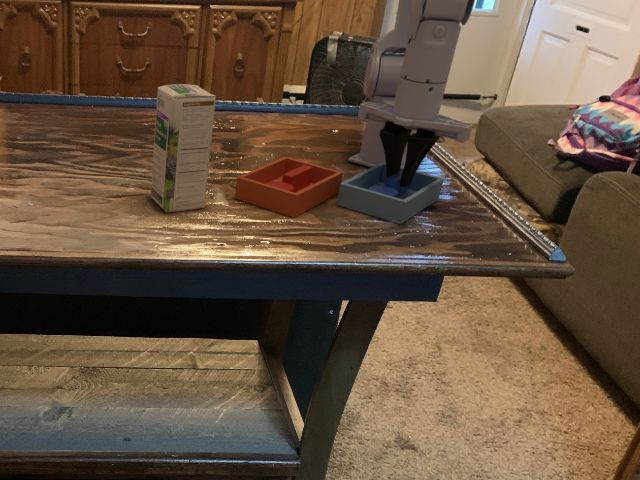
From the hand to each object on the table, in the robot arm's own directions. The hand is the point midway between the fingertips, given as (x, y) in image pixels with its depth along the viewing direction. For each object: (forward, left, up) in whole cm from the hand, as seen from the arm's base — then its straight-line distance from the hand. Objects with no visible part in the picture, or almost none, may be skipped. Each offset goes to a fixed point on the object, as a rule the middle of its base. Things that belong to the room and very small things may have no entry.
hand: (398, 183), depth 103 cm
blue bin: (+2, 0, -2) cm, 3 cm away
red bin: (+10, -11, -2) cm, 15 cm away
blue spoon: (+2, 0, -1) cm, 3 cm away
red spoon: (+10, -11, -2) cm, 15 cm away
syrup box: (+23, -20, -2) cm, 31 cm away
